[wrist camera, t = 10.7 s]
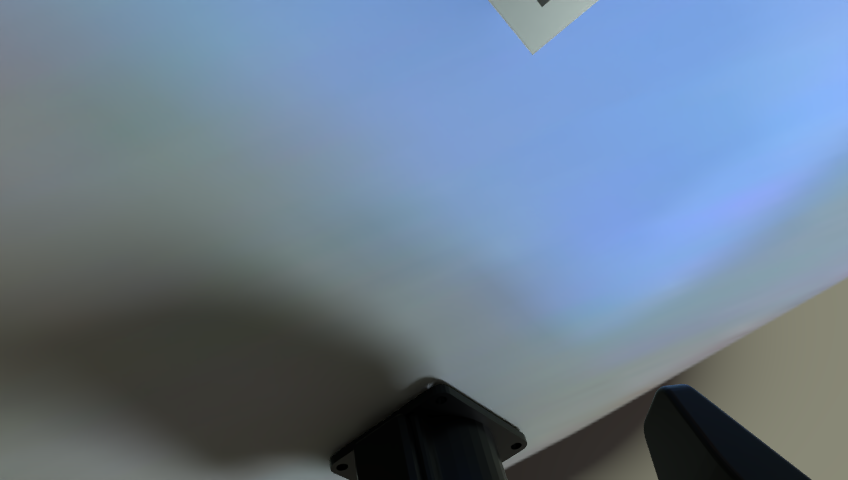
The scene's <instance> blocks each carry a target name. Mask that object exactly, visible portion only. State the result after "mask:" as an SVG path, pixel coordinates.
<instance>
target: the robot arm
mask: <svg viewBox="0 0 848 480" xmlns="http://www.w3.org/2000/svg"><path fill="white" fill-rule="evenodd" d="M644 434H645V438H646V441H647V445H648V448H649V451H650V454H651V458H652V461H653V464H654V467H655V470H656V473H657V476H658V479H659V480H811V479H810V478H809V477H807V476H806V475H805V474H803V473H802V472H801V471H800V470H798V469H797V468H796V467H794V466H793V465H792V464H791V463H789V462H788V461H787V460H785V459H784V458H783V457H782V456H780V455H779V454H778V453H776V452H775V451H774V450H773V449H771V448H770V447H769V446H767V445H766V444H765V443H764V442H762V441H761V440H760V439H758V438H757V437H756V436H754V435H753V434H752V433H751V432H749V431H748V430H747V429H745V428H744V427H743V426H742V425H740V424H739V423H738V422H736V421H735V420H734V419H733V418H731V417H730V416H729V415H727V414H726V413H725V412H724V411H722V410H721V409H720V408H718V407H717V406H716V405H714V404H713V403H712V402H711V401H709V400H708V399H707V398H706V397H704V396H703V395H702V394H700V393H699V392H698V391H696V390H695V389H694V388H692V387H690V386H688V385H685V384H679V385H670V386H664V387H661V388H659V389H658V390H657V392H656V394H655V397H654V399H653V401H652V404H651V406H650V409H649V411H648V414H647V416H646V419H645V422H644ZM526 446H527V441H526V439H525V436H524V434H523V433H522V432H520V431H518V430H517V429H515V428H514V427H512V426H511V425H509V424H507V423H506V422H504V421H503V420H501V419H499V418H498V417H496V416H495V415H493V414H492V413H490V412H488V411H487V410H485V409H484V408H482V407H480V406H479V405H477V404H476V403H474V402H473V401H471V400H469V399H468V398H466V397H465V396H463V395H461V394H460V393H458V392H457V391H455V390H453V389H452V388H450V387H449V386H446V385H436V386H434V387H432V388H430V389H429V390H427V391H426V392H424V393H423V394H421V395H420V396H418V397H417V398H415V399H414V400H413V401H411V402H410V403H408V404H407V405H405V406H404V407H402V408H401V409H399V410H398V411H397V412H395V413H394V414H392V415H391V416H389V417H388V418H386V419H385V420H384V421H382V422H381V423H379V424H378V425H376V426H375V427H373V428H372V429H370V430H369V431H368V432H366V433H365V434H363V435H362V436H360V437H359V438H357V439H356V440H354V441H353V442H352V443H350V444H349V445H347V446H346V447H344V448H343V449H341V450H340V451H339V452H337V453H336V454H334V455H333V456H332V457H331V458H330V469H331V471H332V472H333V473H335V474H337V475H340V476H342V477H344V478H346V479H349V480H507V477H506V474H505V471H504V468H503V465H502V462H504V461H505V460H507V459H509V458H510V457H512V456H513V455H515V454H517V453H518V452H520V451H521V450H523V449H524V448H525V447H526Z"/></svg>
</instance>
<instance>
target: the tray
mask: <svg viewBox="0 0 848 480" xmlns="http://www.w3.org/2000/svg"><path fill="white" fill-rule="evenodd" d="M488 1H489V2H490V3H491V4H492V5H493V7H494V8H495V9H496V10H497V12H498V13H499V14H500V15H501V17H502V18H503V19H504V20H505V21H506V23H507V24H508V25H509V26H510V28H511V29H512V30H513V31H514V33H515V34H516V35H517V36H518V37H519V39H520V40H521V41H522V42H523V44H524V45H525V46H526V47H527V49H528V50H529V51H530V52H531V53H532V55H533V54H534V53H535V52H537V51H538V50H539V49H540V48H542V47H543V46H544V45H545V44H546V43H548V42H549V41H550V40H551V39H552V38H554V37H555V36H556V35H557V34H558V33H560V32H561V31H562V30H563V29H564V28H566V27H567V26H568V25H569V24H570V23H572V22H573V21H574V20H575V19H576V18H578V17H579V16H580V15H581V14H582V13H584V12H585V11H586V10H587V9H589V8H590V7H591V6H592V5H593V4H595V3H596V2H597V1H598V0H488Z"/></svg>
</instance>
